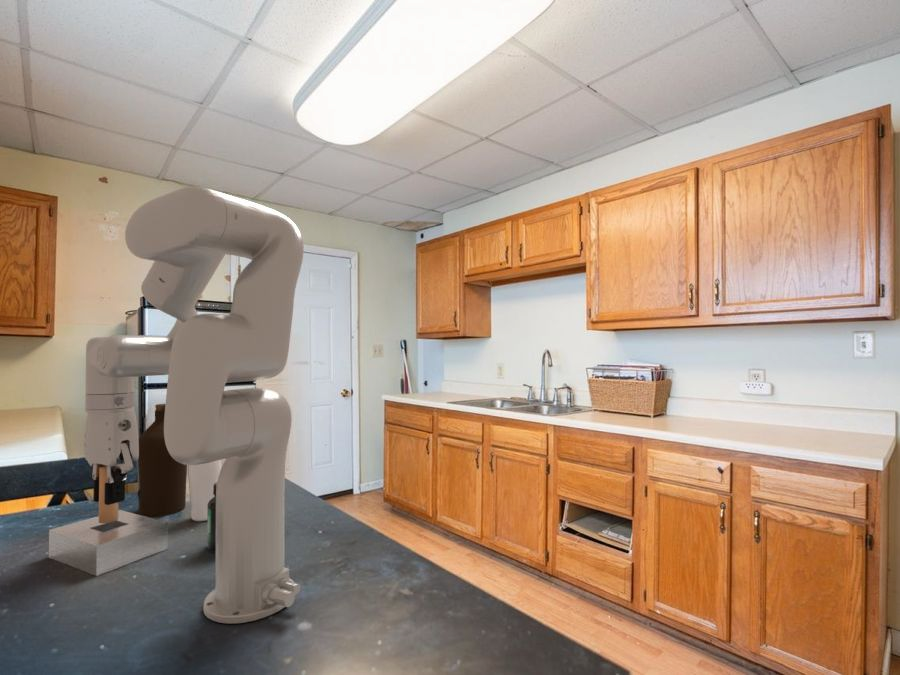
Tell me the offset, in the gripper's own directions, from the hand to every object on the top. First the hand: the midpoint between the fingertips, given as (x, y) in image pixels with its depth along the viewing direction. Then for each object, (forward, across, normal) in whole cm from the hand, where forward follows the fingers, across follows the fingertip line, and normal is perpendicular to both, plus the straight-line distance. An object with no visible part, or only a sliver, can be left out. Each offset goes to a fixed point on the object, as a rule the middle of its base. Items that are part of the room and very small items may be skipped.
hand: (109, 500), depth 88 cm
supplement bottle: (+10, -17, -12) cm, 23 cm away
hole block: (+10, 0, 0) cm, 10 cm away
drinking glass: (+10, +1, -20) cm, 22 cm away
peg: (+4, 0, 0) cm, 4 cm away
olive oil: (+10, +15, -19) cm, 26 cm away
